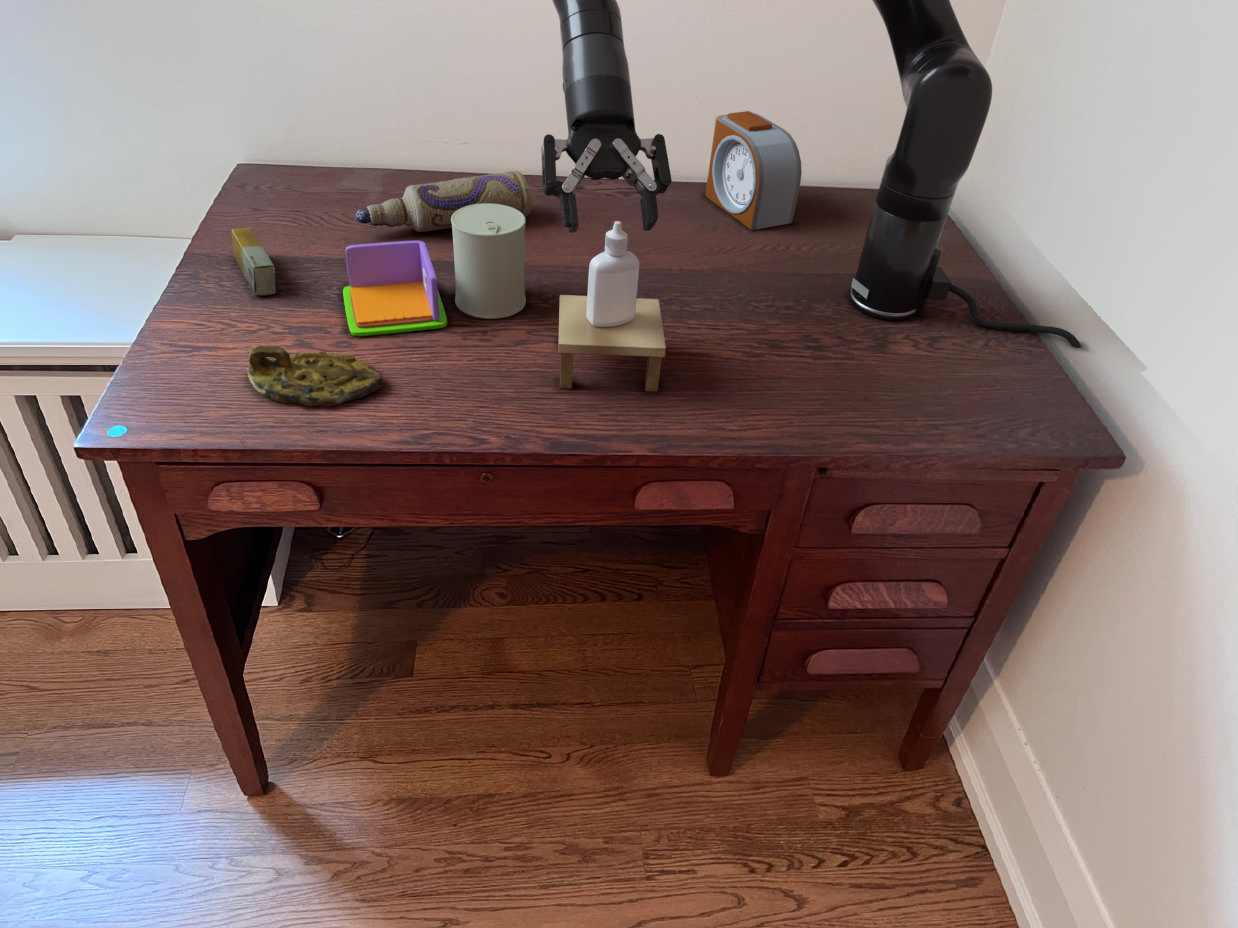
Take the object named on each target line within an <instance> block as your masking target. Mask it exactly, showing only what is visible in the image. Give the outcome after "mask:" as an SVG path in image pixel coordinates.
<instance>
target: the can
mask: <svg viewBox="0 0 1238 928" xmlns="http://www.w3.org/2000/svg"><path fill="white" fill-rule="evenodd" d="M451 222H452V228H451V229H452V231H451V232H452V245H453V261H454V262H453V265H454V281H455V283H454V285H455V296H454V303H455V306H456V307H457V309H458V310H460V311H461V312H462V313H463V314H466V315H468V316H470V317H474V318H478V319H486V320H497V319H498V320H499V319H504V318H509V317H511V316H514V315H516V314H518V313H520V312H521V311H522V310H523V309H524V307H526V302H527V298H526V297H527V296H526V283H525V281H526V280H525V278H526V277H525V272H526V271H525V270H526V269H525V265H526V264H525V262H526V261H525V258H526V255H525V253H526V252H525V251H526V250H525V249H526V247H525V246H526V245H525V244H526V222H527V219H526V217H525V216H524V215H523V214H522V213H521V212H520V211H518V210H516V209H514V208H512V207H509V206H505V205H501V204H491V203H482V204H474V205H469V206H465V207H463V208H460V209H458V210H457V211H455V212H454V213H453V215H452V217H451Z"/></svg>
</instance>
